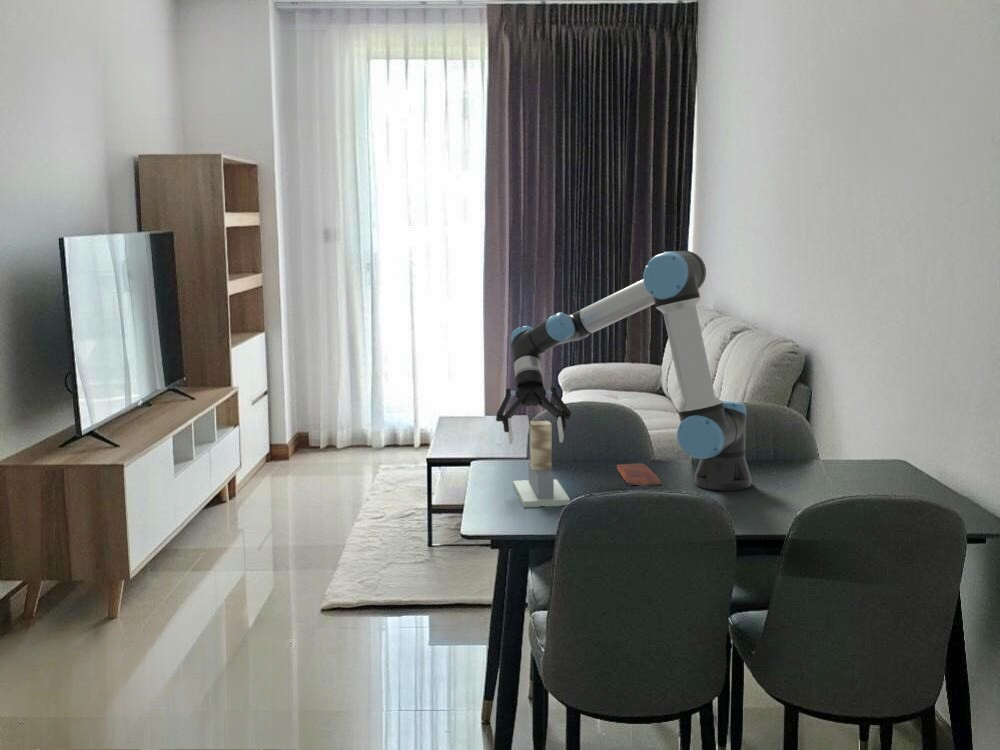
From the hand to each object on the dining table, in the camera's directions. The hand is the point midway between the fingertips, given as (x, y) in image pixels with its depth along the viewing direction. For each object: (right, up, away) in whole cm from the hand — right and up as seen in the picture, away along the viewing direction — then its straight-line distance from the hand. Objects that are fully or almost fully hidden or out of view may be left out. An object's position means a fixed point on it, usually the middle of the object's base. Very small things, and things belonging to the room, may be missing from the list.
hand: (536, 440), depth 292 cm
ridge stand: (+1, -14, -3) cm, 15 cm away
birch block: (+1, -7, -4) cm, 8 cm away
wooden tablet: (+29, -12, +20) cm, 37 cm away
